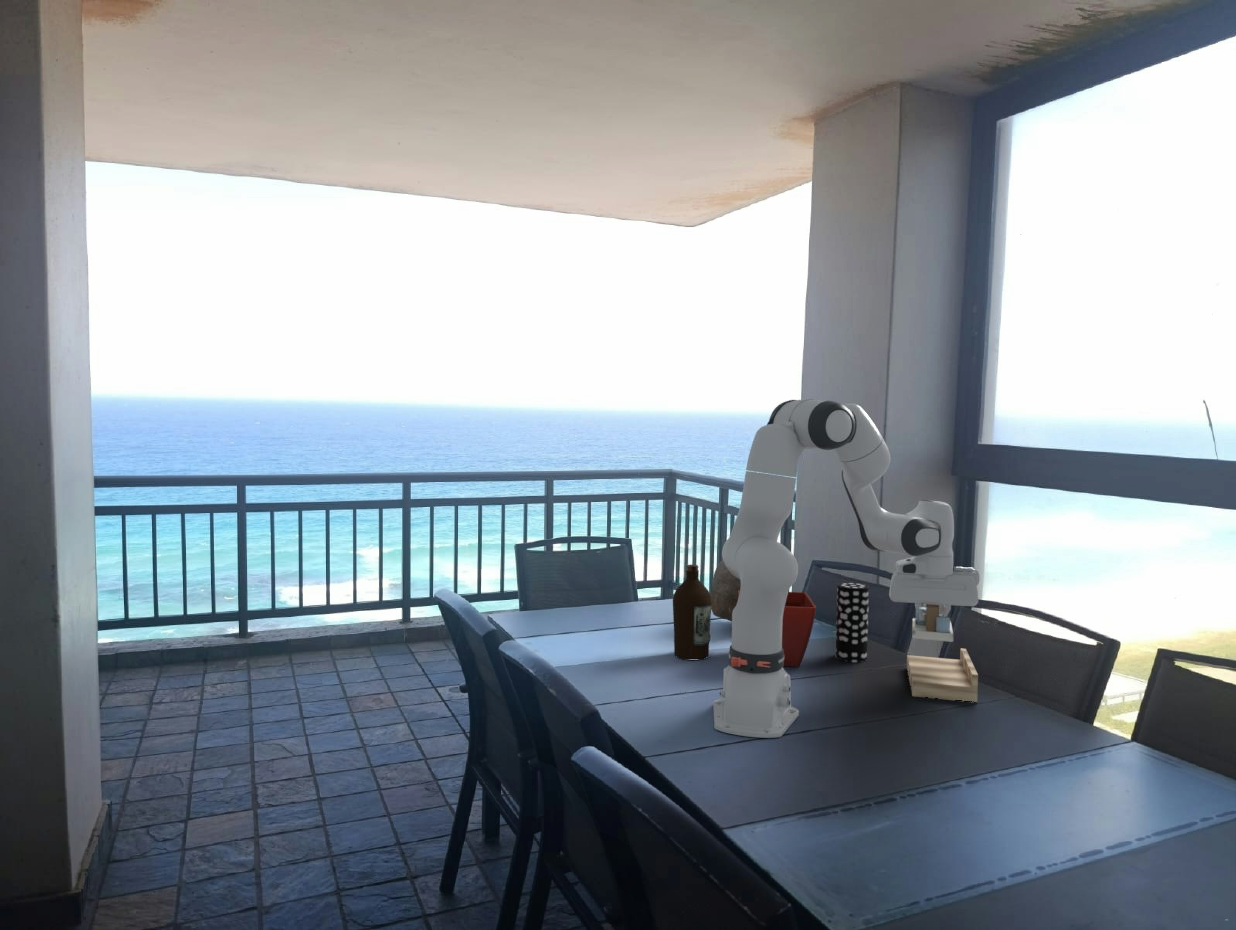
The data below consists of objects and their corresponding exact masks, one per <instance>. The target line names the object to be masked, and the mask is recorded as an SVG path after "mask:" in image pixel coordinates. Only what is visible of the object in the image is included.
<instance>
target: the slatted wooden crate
mask: <svg viewBox="0 0 1236 930" xmlns="http://www.w3.org/2000/svg"><path fill="white" fill-rule="evenodd" d="M959 651H960V653H959V654H960V655H959V657H960V659H955V658H946V657H945V658H944V657H932V656H924V655H923V656H921V655H910V654H909V655H908V654H907V655H906V670H907V671H908V672H907V675H908V676H909V677H908V681H909V686H911V687H910V692H911V695H912V697H918V698H925V697H928V698H927V699H935V698H938V699H937V700H944V701H945V700H946V701H947V700H948V701H955V700H962V701H961V702H964V701H972V702H971V703H974V702H977V703H978V693H979V692H978V691H979V690H978V688H979V687H978V686H979V674H978V672H977V669H976V668H975V666H974V663H973V661H972V659H971V657H970V655H969V653H968V651H967V648H960V650H959ZM973 701H974V702H973Z"/></svg>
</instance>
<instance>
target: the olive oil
mask: <svg viewBox="0 0 1236 930" xmlns="http://www.w3.org/2000/svg"><path fill="white" fill-rule="evenodd" d="M699 572H700V571H699V565H698V564H687V565H686V572H685V575H686V576H685V577H686V578H685V579H684V581H683V582H682V583H681V584H680V585H679V586H678V587H677V588H676V589H675V591H674V593H673V597H672V615H673V616H672V618H673V620H672V621H673V645H674V646H673V647H674V648H673V649H674V650H673V652H674V654H675V655H674V654H673V655H674V657H676V656H677V657H679V658H678V659H680V658H681V660H684V659H702V660H705V659H704V658H706V657H707V658H708V657H710V656H709V655H710V653H709V651H710V642H711V634H710V633H711V631H710V630H711V618H712V617H711V615H712V609H711V606H712V600H711V592H710V591H709V590H708V588H707V587H706V586H705V585H704V584H703V583H702V582H701V580H700V579H699V577H700V576H699ZM677 657H676V658H677ZM707 658H706V659H707Z"/></svg>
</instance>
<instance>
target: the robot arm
mask: <svg viewBox="0 0 1236 930" xmlns="http://www.w3.org/2000/svg"><path fill="white" fill-rule="evenodd" d="M805 450H823V451H831V450H833V453H834V454H835V456H836V459H837V460H838V462H839V464H840V466H841V469H842V470H841V481H842V483H843V487H844V490H845V491H846V494H847V496H848V497H847V498H848V499H849V502H850V505H851V507H852V509H853V511H854V514H855V516H856V519H857V521H858V522H857V523H858V526H859V528H858V529H859V533H860V538H861V541H862V542H863V544H864V545H865V546H866V547H867V548H868V549H869V550H871V551H877V552H886V553H887V552H888V553H892V554H898V555H902V556H903V555H904V556H909V557H907V558H904V559H899V560H897V561H896V562H895V565H894V566H895V571H894V572H893V574H892V575H891V579H890V582H889V591H888V592H889V593H888V595H889V598H890V600H891V601H892V602H894V603H911V604H912V603H913V604H914V606H915V610H916V609H917V610H918V612H919V619H920V621H926V613H922V611H921V610H920V608H921V607H923V606H922V605H923V604H939V605H942V606H943V608H944V610H943V611H942V613H939V617H940V616H941V617H947V616H948V614H949V613H950V612H951V611H952V610H951V609H952V608H951V607H952V606H961V607H976V606H977V605H978V603H979V591H978V586H979V583H980V573H979V571H977V570H976V569H974V567H969V566H968V567H963V566H954V551H953V541H954V537H955V520H954V513H953V512H954V511H953V509H952V506H951V505H950V504H949V503H947V502H944V501H939V500H932V499H922V500H919V501H918V503H917V506H916V507H915V508H913V509H912V510H911V511H909V512H907V513H905V514H901V513H896V512H895V513H894V512H890V511H887V510H885V509H884V508H882V507H881V506H880V504H879V501H878V499H877V496H876V493H875V490H874V489H873V486H872V484H874V483H875V482H877V481H878V480H879V479H880V478H882V477H883V476H884V475H885V473H887V471H888V469H889V468H890V464H891V460H892V459H891V453H890V449H889V447H888V445H887V443H886V442H885V439H884V437H883V435H882V434H881V432H880V430H879V429H878V427H877V425H876V424H875V422H874V421H873V419H871V417H870V416H869V415H868V413H867V411H865V410H864V408H862V407H861V406H860V405H858V404H857V403H852V402H851V403H850V402H849V403H847V402H846V403H843V404H842V403H840V402H836V401H834V400H821V399H820V400H818V399H813V398H803V399H790V400H785V401H783V402H781V403H779V404H778V405H777V406H776V407H775V408H774V409H773V411H771V414H770V416H769V419H768V422H767V424H766V425H763V426H761V427H760V428H758V430H757V431H756V432H755V434H754V438H753V441H752V444H751V447H750V449H749V454H748V457H747V462H746V469H745V474H744V483H743V487H742V494H741V500H740V505H739V509H738V512H737V516H736V518H735V521H734V524H733V527H732V529H731V532H730V535H729V537H728V539H726V540H725V542H724V544H723V546H722V550H721V559H722V558H723V561H724V564H725V565H726V567H727V569H728V570H729V572H730V573H731V574H732V575H733V576H735V577H737V578H738V579H740V581H741V588H740V593H739V597H738V601H737V604H736V607H735V608H734V609H733V612H732V622H731V645H730V646H729V651H728V665H727V666H726V667H724V668H723V688H722V690H720V691H719V697H721V698H718V699H715V700H713V704H712V705H713V706H712V707H713V709H712V710H713V711H712V713H713V727H714V728H713V729H715V730H717V731H720V732H722V733H727V734H731V735H737V736H743V737H749V738H750V737H751V738H762V739H763V738H764V739H765V738H766V739H771V738H772V739H773V738H781V737H782V736H783V735H784V734H785V733H786V731H787V730H788V729H789V728H790V727H791V725H792V724H793V723H794V722H795V720H797V718H798V717H799V715H800V714H799V713H800V711H799V709H798V708H796V707H794V706H792V701H791V699H792V698H791V697H792V695H791V693H792V692H791V676H790V674H789V673H788V672H787V671H786V670H785V668H784V667H785V666H784V649H783V648H782V626H783V613H784V607H785V603H786V599H787V595H788V592H790V589H791V587H792V586H793V585H794V584H795V582H796V580H797V578H798V575H799V562H798V561H797V559H796V557H795V555H794V554H793V552H791V550H790V549H788V548H787V547H786V546H785V545H784V544H782V543H780V542H779V541H778V539H779V536H780V533H781V530H782V527H783V525H784V524H785V522H786V521H787V519H789V517H790V515H791V513H792V509H793V503H794V496H795V490H796V486H797V484H796V483H797V476H798V469H799V459H800V458H801V455H802V454H803V452H804V451H805ZM919 607H920V608H919Z"/></svg>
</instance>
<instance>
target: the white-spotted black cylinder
mask: <svg viewBox="0 0 1236 930" xmlns="http://www.w3.org/2000/svg"><path fill="white" fill-rule="evenodd" d="M869 598H870V586H869V585H868V584H866V583H860V582H840V583H839V582H838V583H837V584H836V618H835V619H836V622H835V623H836V624H835V628H836V629H835V630H836V631H835V658H836V659H837V660H839V659H840V661H842V660H843V661H842V662H846V663H847V662H848V663H863V662H866V661H868V650H869V649H868V648H869V647H868V645H869V644H868V643H869V609H870V608H869V607H870V599H869Z"/></svg>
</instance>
